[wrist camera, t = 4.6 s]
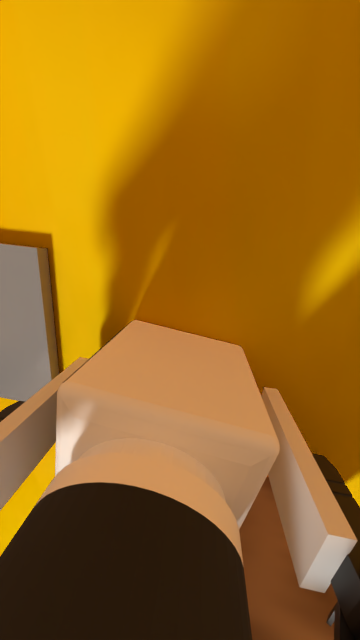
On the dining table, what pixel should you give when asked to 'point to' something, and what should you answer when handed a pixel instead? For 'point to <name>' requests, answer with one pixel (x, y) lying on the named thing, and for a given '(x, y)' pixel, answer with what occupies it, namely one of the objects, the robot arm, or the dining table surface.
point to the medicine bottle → (144, 497)
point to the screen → (278, 580)
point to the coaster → (26, 322)
